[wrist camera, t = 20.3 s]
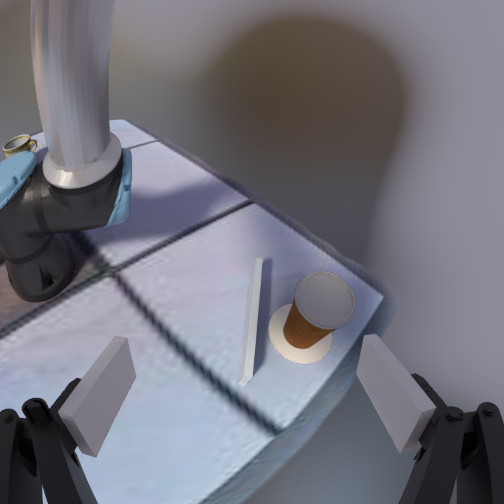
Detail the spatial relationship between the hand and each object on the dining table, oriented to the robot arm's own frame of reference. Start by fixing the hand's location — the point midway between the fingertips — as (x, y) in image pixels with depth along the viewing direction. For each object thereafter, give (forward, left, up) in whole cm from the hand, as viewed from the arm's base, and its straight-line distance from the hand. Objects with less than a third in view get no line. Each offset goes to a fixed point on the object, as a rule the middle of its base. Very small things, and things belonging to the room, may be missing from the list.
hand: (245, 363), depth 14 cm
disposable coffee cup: (-14, +17, -27) cm, 35 cm away
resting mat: (-14, +18, -27) cm, 35 cm away
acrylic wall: (-16, +8, -27) cm, 33 cm away
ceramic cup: (-65, -57, -27) cm, 91 cm away
